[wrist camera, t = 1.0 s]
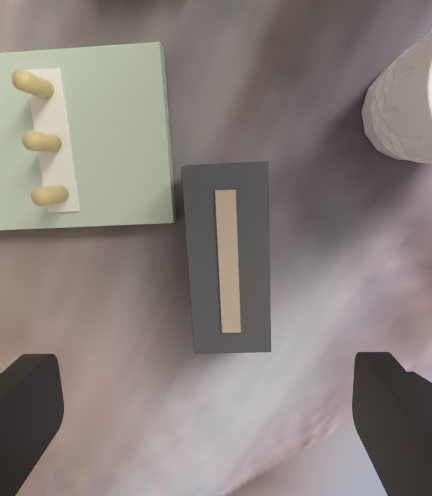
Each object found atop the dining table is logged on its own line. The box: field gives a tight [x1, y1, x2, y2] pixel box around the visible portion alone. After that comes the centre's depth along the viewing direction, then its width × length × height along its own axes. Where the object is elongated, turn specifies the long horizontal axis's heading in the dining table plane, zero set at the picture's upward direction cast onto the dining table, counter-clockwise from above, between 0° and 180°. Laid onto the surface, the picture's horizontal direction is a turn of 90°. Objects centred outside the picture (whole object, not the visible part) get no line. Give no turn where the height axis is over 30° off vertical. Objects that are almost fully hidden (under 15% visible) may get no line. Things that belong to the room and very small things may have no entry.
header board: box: [0, 42, 177, 230], centre depth 24 cm, size 16×12×4 cm
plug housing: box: [181, 162, 271, 354], centre depth 25 cm, size 5×12×6 cm, turn 3°
